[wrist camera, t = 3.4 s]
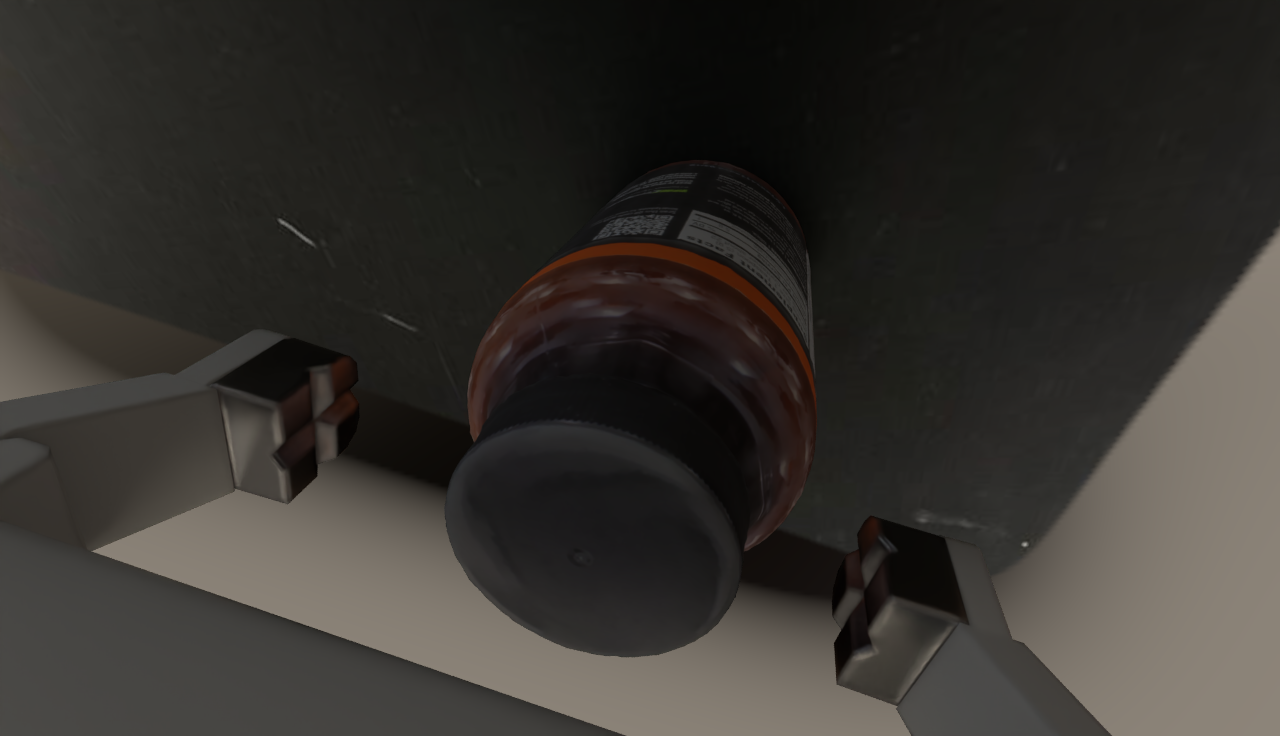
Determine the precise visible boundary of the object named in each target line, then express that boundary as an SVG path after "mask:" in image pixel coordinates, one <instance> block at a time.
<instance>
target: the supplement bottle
mask: <svg viewBox="0 0 1280 736" xmlns="http://www.w3.org/2000/svg"><path fill="white" fill-rule="evenodd" d="M814 362H815V360H814V340H813V320H812V298H811V275H810V263H809V257H808V251H807V247H806V241H805V236H804V234H803V231H802V228H801V226H800V224H799V221H798V219H797V218H796V216H795V214H794V212H793V211H792V209H791V208H790V207H789V205H788V204H787V203H786V201H785V200H784V199H783V198H782V197H781V196H780V195H779V194H778V192H777V191H776V190H775V189H773V188H772V187H771V186H770V185H769V184H768V183H766V182H765V181H763V180H762V179H760V178H758V177H757V176H756V175H754V174H752V173H750V172H748V171H746V170H744V169H742V168H739V167H737V166H734V165H731V164H729V163H724V162H715V161H708V160H690V161H680V162H675V163H670V164H667V165H664V166H662V167H659V168H657V169H654V170H651V171H649V172H648V173H646V174H644V175H642V176H640V177H639V178H637V179H636V180H634V181H633V182H631V183H629V184H628V185H627V186H626V187H625V188H624V189H622V190H621V191H619V192H618V193H617V194H616V195H615V197H614V198H613V199H611V200H610V201H609V202H608V203H607V204H606V205H605V206H604V207H603V208H602V209H601V210H600V211H599V212H598V213H597V214H595V215H594V216H593V217H592V218H591V219H590V221H589V222H588V223H587V224H586V225H584V226H583V227H582V229H580V230H579V231H578V232H577V233H576V234H575V235H574V236H573V237H572V238H571V239H570V240H569V241H568V242H567V243H566V244H565V245H564V246H563V247H562V248H561V249H560V250H559V251H558V252H557V253H556V254H555V255H554V256H552V257H551V258H550V259H549V260H548V261H547V263H546V264H545V265H543V266H542V267H541V268H540V269H538V270H537V271H536V272H535V274H534V275H533V276H532V277H531V278H530V279H529V280H528V281H527V282H526V283H525V284H524V285H523V286H522V287H521V288H520V289H519V290H518V291H517V292H516V293H515V294H514V295H513V296H512V297H511V298H510V300H509V301H508V302H507V303H506V304H505V305H504V307H503V308H502V309H501V311H500V312H499V313H498V315H497V316H496V318H495V319H494V320H493V322H492V323H491V325H490V326H489V328H488V329H487V331H486V333H485V335H484V337H483V339H482V340H481V343H480V345H479V347H478V350H477V352H476V356H475V359H474V362H473V365H472V369H471V374H470V379H469V386H468V394H467V397H468V412H469V422H470V428H471V429H470V433H471V435H472V437H473V440H474V444H473V445H472V446H471V447H470V449H469V450H468V451H467V453H466V454H465V455H464V457H463V458H462V459H461V461H460V462H459V464H458V466H457V468H456V469H455V471H454V473H453V475H452V478H451V480H450V483H449V487H448V491H447V497H446V503H445V519H446V527H447V532H448V535H449V539H450V543H451V545H452V548H453V550H454V554H455V556H456V558H457V560H458V561H459V563H460V564H461V566H462V567H463V569H464V571H465V573H466V574H467V576H468V578H469V580H470V581H471V582H472V583H473V584H474V585H475V586H476V587H477V588H478V589H479V590H480V591H481V592H482V593H483V594H484V596H485V597H486V598H487V599H488V600H489V601H491V602H492V603H493V604H494V605H495V606H496V607H497V608H498V609H499V610H501V611H502V612H503V613H504V614H506V615H507V616H509V617H510V618H511V619H512V620H513V621H515V622H516V623H518V624H520V625H521V626H523V627H525V628H526V629H528V630H530V631H532V632H534V633H536V634H538V635H539V636H541V637H543V638H545V639H547V640H550V641H552V642H554V643H556V644H559V645H561V646H564V647H566V648H569V649H574V650H578V651H583V652H587V653H591V654H596V655H604V656H619V657H639V656H650V655H659V654H663V653H666V652H669V651H672V650H675V649H677V648H680V647H683V646H685V645H687V644H689V643H692V642H694V641H696V640H697V639H699V638H700V637H702V636H704V635H705V634H707V633H708V632H709V631H710V630H711V629H712V628H713V627H715V626H716V625H717V624H718V623H719V621H720V620H721V618H722V617H723V616H724V614H725V613H726V611H727V610H728V609H729V607H730V605H731V603H732V602H733V600H734V598H735V597H736V593H737V590H738V586H739V582H740V577H741V570H742V566H743V554H744V551H746V550H749V549H750V548H752V547H753V546H755V545H757V544H759V543H760V542H761V541H763V540H764V539H766V538H767V537H768V536H769V535H770V534H771V533H772V532H773V531H775V530H776V529H777V528H778V526H779V525H780V524H782V523H783V521H784V520H785V518H786V517H787V516H788V514H789V513H790V512H791V510H792V509H793V507H794V505H795V504H796V502H797V500H798V498H799V497H800V496H801V494H802V491H803V489H804V486H805V482H806V479H807V476H808V474H809V472H810V470H811V465H812V461H813V457H814V452H815V440H816V426H817V414H816V381H815V364H814Z"/></svg>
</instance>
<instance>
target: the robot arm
mask: <svg viewBox="0 0 1280 736" xmlns="http://www.w3.org/2000/svg"><path fill="white" fill-rule="evenodd" d="M357 382H358V370H357V362H356V361H354V360H353V359H352V358H351V357H350V356H347V355H344V354H341V353H338V352H335V351H332V350H329V349H326V348H323V347H320V346H317V345H314V344H311V343H308V342H305V341H302V340H299V339H296V338H291V337H289V336H286V335H283V334H279V333H276V332H273V331H270V330H267V329H255V330H253V331H251V332H249V333H248V334H246V335H244V336H242V337H241V338H239V339H237V340H235V341H234V342H232V343H230V344H228V345H227V346H225V347H223V348H221V349H220V350H218V351H216V352H214V353H213V354H211V355H209V356H207V357H206V358H204V359H203V360H200V361H199V362H197V363H195V364H194V365H192V366H190V367H188V368H186V369H185V370H183V371H181V372H180V373H178V374H176V375H171V374H168V373H160V374H154V375H148V376H143V377H137V378H132V379H126V380H121V381H115V382H109V383H104V384H98V385H93V386H87V387H81V388H76V389H70V390H65V391H59V392H54V393H48V394H42V395H37V396H31V397H25V398H20V399H14V400H9V401H3V402H0V736H625V735H622V734H619V733H617V732H613V731H611V730H608V729H605V728H602V727H599V726H596V725H593V724H590V723H587V722H584V721H582V720H579V719H575V718H573V717H570V716H567V715H564V714H561V713H558V712H555V711H552V710H550V709H547V708H544V707H541V706H538V705H535V704H532V703H529V702H526V701H523V700H521V699H517V698H515V697H512V696H509V695H506V694H503V693H500V692H497V691H494V690H492V689H489V688H486V687H483V686H480V685H477V684H474V683H471V682H468V681H465V680H462V679H460V678H457V677H454V676H451V675H448V674H445V673H442V672H439V671H437V670H434V669H431V668H428V667H424V666H422V665H419V664H416V663H413V662H410V661H408V660H404V659H402V658H399V657H396V656H393V655H390V654H387V653H384V652H382V651H379V650H376V649H373V648H369V647H367V646H364V645H361V644H358V643H356V642H353V641H349V640H347V639H344V638H341V637H338V636H335V635H332V634H329V633H327V632H324V631H321V630H318V629H315V628H312V627H309V626H306V625H303V624H300V623H298V622H294V621H292V620H289V619H286V618H283V617H280V616H277V615H274V614H271V613H268V612H266V611H263V610H260V609H257V608H254V607H251V606H248V605H245V604H242V603H239V602H237V601H233V600H231V599H228V598H225V597H222V596H219V595H216V594H213V593H210V592H207V591H205V590H202V589H199V588H196V587H193V586H190V585H187V584H184V583H181V582H178V581H176V580H172V579H170V578H167V577H164V576H161V575H158V574H155V573H152V572H149V571H147V570H144V569H141V568H138V567H134V566H132V565H129V564H126V563H123V562H120V561H117V560H114V559H112V558H109V557H106V556H103V555H100V554H97V553H94V552H91V551H93V550H95V549H98V548H100V547H103V546H105V545H107V544H110V543H112V542H114V541H117V540H119V539H121V538H124V537H127V536H129V535H131V534H133V533H136V532H138V531H141V530H143V529H146V528H148V527H150V526H153V525H155V524H158V523H160V522H162V521H165V520H167V519H170V518H172V517H174V516H177V515H179V514H181V513H184V512H186V511H189V510H191V509H194V508H196V507H198V506H201V505H203V504H205V503H208V502H210V501H213V500H215V499H218V498H220V497H222V496H225V495H227V494H229V493H232V492H234V491H235V489H238V490H242V491H245V492H248V493H252V494H255V495H259V496H262V497H265V498H268V499H272V500H275V501H279V502H282V503H286V504H289V503H290V502H291V501H292V500H293V499H294V498H295V497H296V496H297V495H298V494H299V493H300V492H301V491H302V490H303V489H304V488H306V487H307V486H308V485H309V484H310V483H311V482H312V481H313V480H314V479H315V478H316V477H317V468H318V464H320V463H323V462H326V461H329V460H332V459H335V458H337V457H338V456H339V455H340V454H341V453H342V452H343V451H344V450H345V449H346V448H347V447H348V445H349V442H350V441H351V439H352V438H353V435H354V434H355V432H356V429H357V425H358V421H359V403H358V401H357V400H356V398H355V397H354V395H353V393H352V392H351V390H350V389H351V388H352V387H353V386H354V385H355V384H356V383H357ZM234 488H235V489H234ZM857 537H858V547H859V549H858V550H856V551H854V552H851V553H849V554H847V555H846V556H845V558H844V560H843V562H842V564H841V566H840V568H839V570H838V573H837V577H836V580H835V584H834V587H833V596H832V615H833V618H834V620H835V621H836V623H837V624H838V626H839V627H840V628H841V632H840V633H839V635H838V637H837V639H836V640H835V642H834V650H835V665H836V681H837V685H840V686H843V687H845V688H848V689H851V690H854V691H857V692H860V693H862V694H865V695H868V696H871V697H873V698H876V699H879V700H882V701H885V702H887V703H890V704H893V705H896V706H898V707H897V708H896V709H897V711H898V713H899V714H900V716H901V718H902V720H903V721H904V723H905V725H906V727H907V728H908V730H909V732H910V734H911V736H1112V735H1111V734H1110V733H1109V732H1108V731H1107V730H1106V729H1105V728H1104V727H1103V726H1102V725H1101V724H1100V723H1099V722H1098V721H1097V720H1096V719H1095V718H1094V717H1093V715H1092V714H1091V713H1090V712H1089V711H1088V710H1087V709H1086V708H1085V707H1084V706H1083V705H1082V704H1081V703H1080V702H1079V701H1078V700H1077V699H1076V698H1075V696H1074V695H1073V694H1072V693H1071V692H1070V691H1069V690H1068V689H1067V688H1066V687H1065V686H1064V685H1063V684H1062V683H1061V682H1060V681H1059V680H1058V679H1057V678H1056V677H1055V675H1053V673H1052V672H1051V671H1050V670H1049V669H1048V668H1047V667H1046V666H1045V665H1044V664H1043V663H1042V662H1041V661H1040V660H1039V659H1038V658H1037V657H1036V655H1035V654H1033V652H1032V651H1031V650H1030V649H1029V648H1028V647H1027V646H1026V645H1025V644H1024V643H1022V642H1019V641H1016V640H1013V639H1012V637H1011V634H1010V631H1009V628H1008V625H1007V623H1006V620H1005V617H1004V614H1003V611H1002V608H1001V605H1000V603H999V600H998V597H997V594H996V591H995V589H994V585H993V583H992V580H991V577H990V574H989V571H988V568H987V566H986V563H985V560H984V557H983V554H982V552H981V550H980V549H979V548H978V547H977V546H976V545H974V544H971V543H967V542H963V541H960V540H956V539H953V538H949V537H945V536H942V535H939V536H938V535H934V534H931V533H928V532H924V531H921V530H918V529H914V528H911V527H908V526H904V525H901V524H898V523H894V522H891V521H888V520H884V519H881V518H878V517H874V516H870V517H869V518H867V519H866V520H865V521H864V523H863V525H862V526H861V528H860V530H859V532H858V534H857Z"/></svg>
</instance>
